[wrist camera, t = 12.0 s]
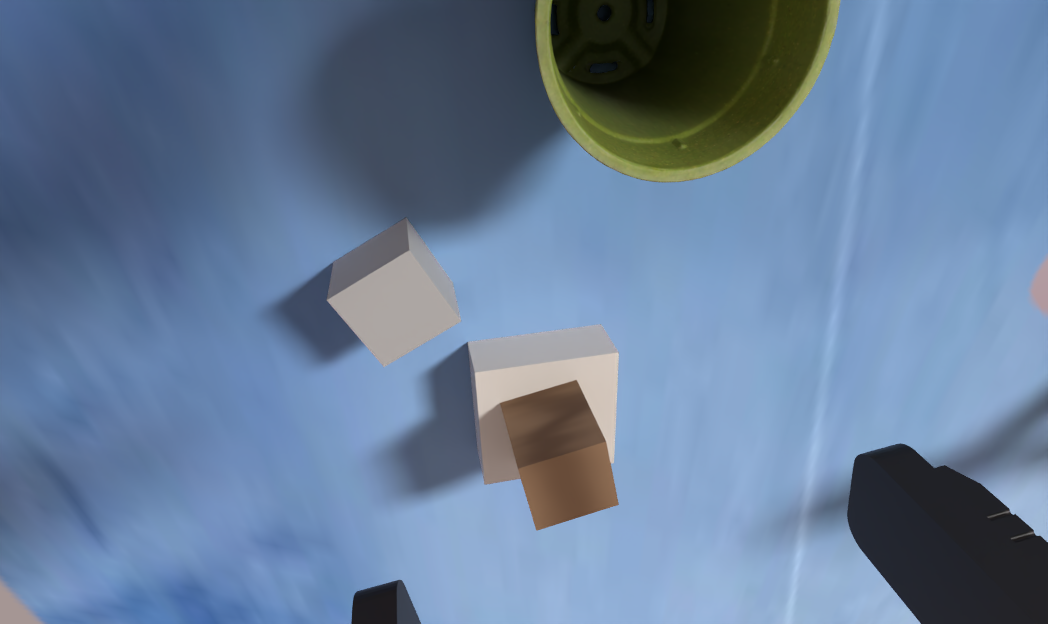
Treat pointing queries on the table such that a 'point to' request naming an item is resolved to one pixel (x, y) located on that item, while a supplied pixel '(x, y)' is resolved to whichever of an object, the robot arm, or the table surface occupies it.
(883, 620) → the table surface
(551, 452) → the walnut cube
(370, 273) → the grey block
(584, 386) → the base block
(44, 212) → the table surface
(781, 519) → the table surface
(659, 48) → the plant pot
